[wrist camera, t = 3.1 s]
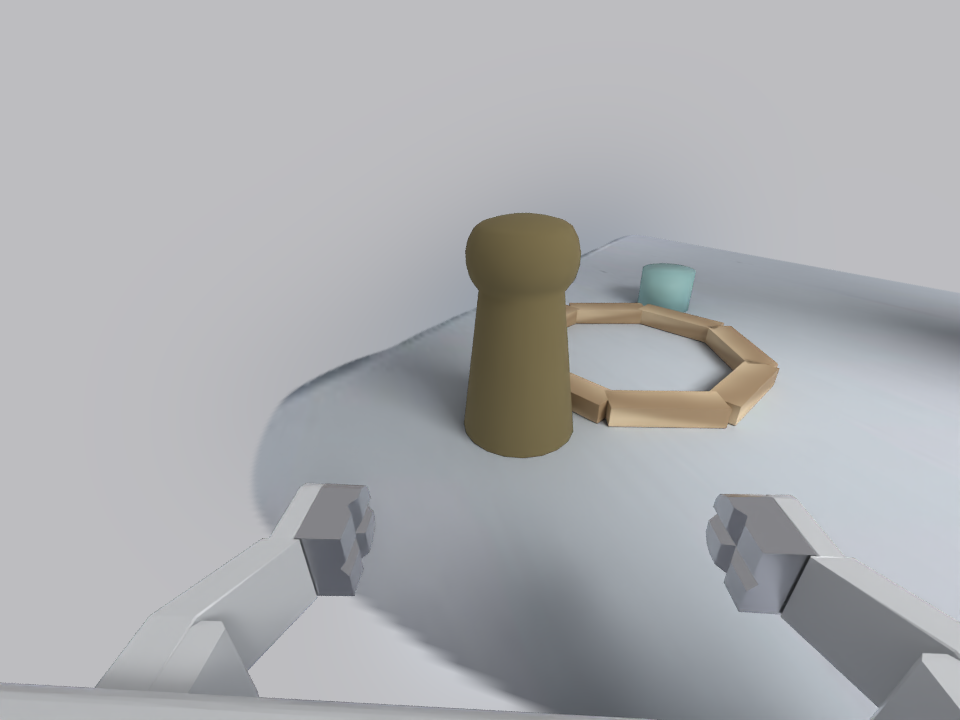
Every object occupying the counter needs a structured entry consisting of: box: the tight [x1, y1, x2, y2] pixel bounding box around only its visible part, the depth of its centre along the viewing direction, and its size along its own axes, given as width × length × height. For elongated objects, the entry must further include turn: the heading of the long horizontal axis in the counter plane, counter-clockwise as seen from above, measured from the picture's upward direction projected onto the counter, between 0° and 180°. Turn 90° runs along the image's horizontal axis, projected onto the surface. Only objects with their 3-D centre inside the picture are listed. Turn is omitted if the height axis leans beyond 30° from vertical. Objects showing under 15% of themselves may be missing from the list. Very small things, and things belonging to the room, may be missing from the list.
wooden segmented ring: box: [566, 303, 779, 428], centre depth 30 cm, size 17×17×1 cm
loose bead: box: [638, 263, 696, 313], centre depth 39 cm, size 4×4×4 cm
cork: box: [464, 213, 581, 458], centre depth 21 cm, size 6×6×11 cm
